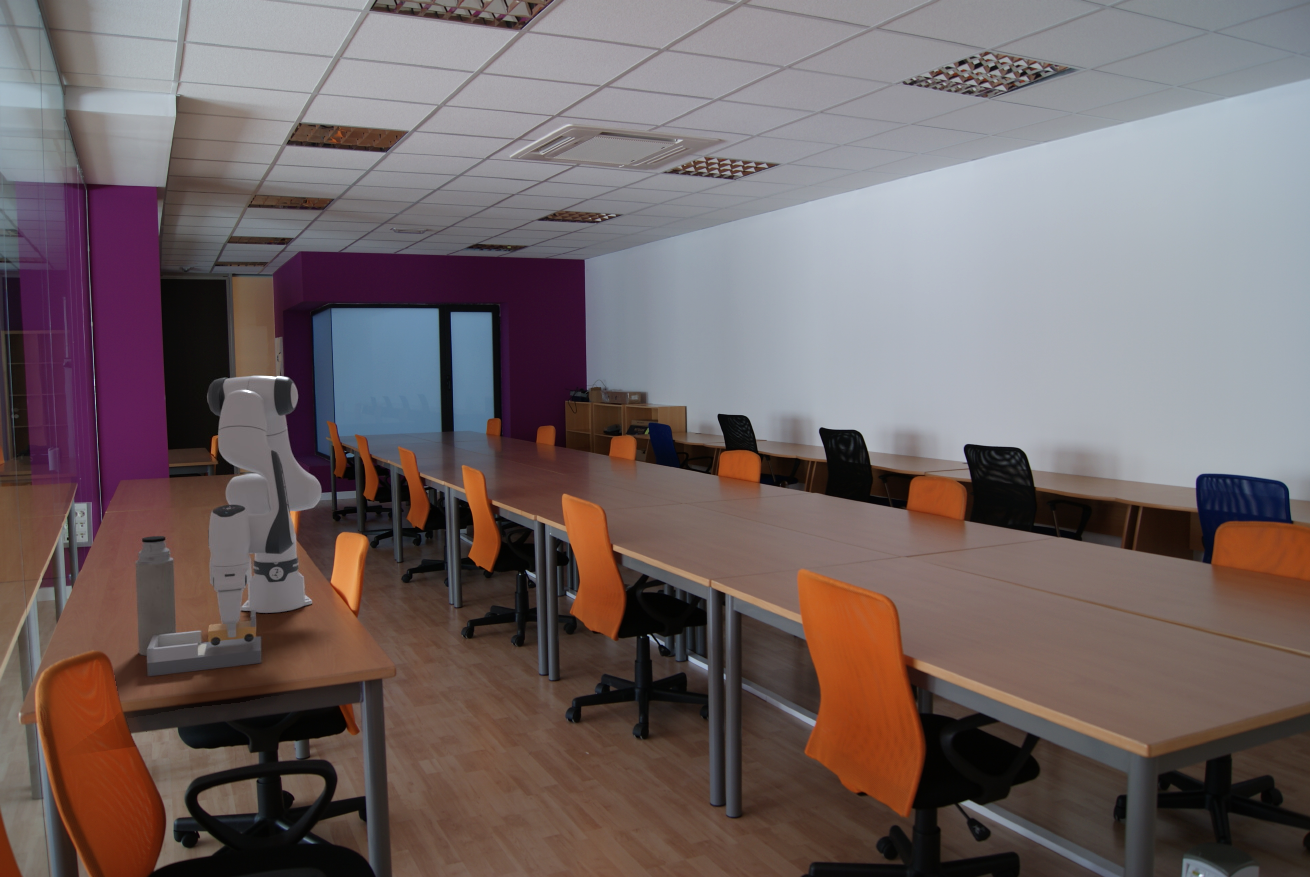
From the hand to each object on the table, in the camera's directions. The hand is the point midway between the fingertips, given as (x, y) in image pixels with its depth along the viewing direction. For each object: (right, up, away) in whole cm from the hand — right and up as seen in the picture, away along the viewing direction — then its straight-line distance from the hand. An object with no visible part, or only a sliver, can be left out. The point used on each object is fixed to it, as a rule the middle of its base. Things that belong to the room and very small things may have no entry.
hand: (232, 632), depth 205 cm
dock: (-5, -7, -2) cm, 8 cm away
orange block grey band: (0, -2, 0) cm, 2 cm away
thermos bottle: (-21, -6, +6) cm, 23 cm away
